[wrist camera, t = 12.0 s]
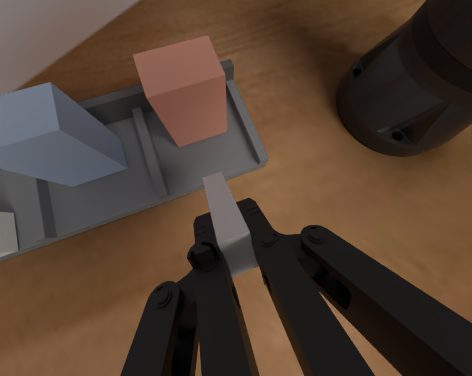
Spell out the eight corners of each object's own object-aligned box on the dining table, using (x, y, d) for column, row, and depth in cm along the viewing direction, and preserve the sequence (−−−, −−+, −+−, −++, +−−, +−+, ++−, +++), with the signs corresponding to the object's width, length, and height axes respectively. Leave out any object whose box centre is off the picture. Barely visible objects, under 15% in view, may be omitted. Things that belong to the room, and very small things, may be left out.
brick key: (215, 104, 22) (207, 35, 14) (227, 131, 21) (225, 74, 13) (168, 118, 21) (132, 54, 13) (178, 147, 20) (146, 97, 12)
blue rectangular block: (119, 137, 20) (50, 82, 12) (127, 168, 19) (59, 129, 12) (66, 154, 20) (-43, 106, 12) (72, 186, 19) (-40, 158, 11)
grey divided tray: (230, 89, 24) (230, 59, 20) (264, 166, 22) (272, 151, 17) (-60, 177, 20) (-140, 163, 16) (-56, 281, 18) (-148, 299, 14)
